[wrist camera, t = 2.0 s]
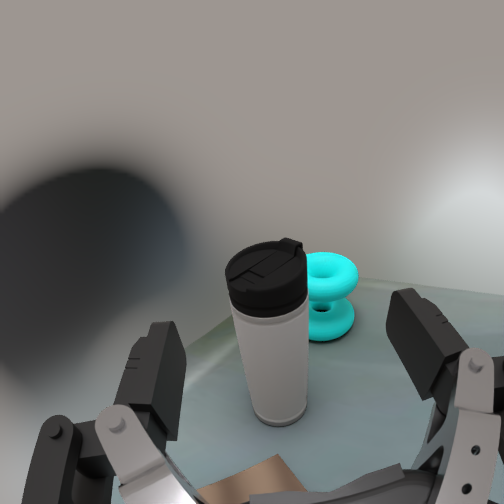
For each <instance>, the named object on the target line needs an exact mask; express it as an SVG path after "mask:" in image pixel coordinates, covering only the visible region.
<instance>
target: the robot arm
mask: <svg viewBox="0 0 504 504" xmlns="http://www.w3.org/2000/svg"><path fill="white" fill-rule="evenodd" d="M442 314H443V313H442V312H441V311H440V310H439V309H438V307H437V306H436V305H435V304H433V303H432V302H430V301H429V300H427V299H425V298H421V297H420V296H419V294H418V293H417V292H416V291H415V290H414V289H413V288H407V289H402V290H397V291H394V292H393V293H392V296H391V300H390V306H389V311H388V315H387V320H386V332H387V336H388V338H389V340H390V342H391V343H392V345H393V347H394V349H395V350H396V352H397V354H398V356H399V358H400V359H401V361H402V363H403V365H404V367H405V368H406V370H407V372H408V374H409V376H410V378H411V380H412V382H413V383H414V385H415V387H416V389H417V391H418V393H419V395H420V397H421V399H422V401H423V400H426V399H429V398H431V397H433V398H434V400H435V403H434V404H433V407H432V412H431V416H430V420H429V424H428V427H427V431H426V434H425V438H424V441H423V445H422V447H421V450H420V452H419V454H418V455H417V457H416V459H415V461H414V463H413V465H412V467H411V469H403V470H402V468H401V465H400V463H398V464H395V465H393V466H390V467H387V468H384V469H381V470H378V471H375V472H371V473H368V474H365V475H364V476H362V477H360V478H358V479H356V480H354V481H352V482H350V483H348V484H346V485H344V486H342V487H340V488H338V489H336V490H334V491H331V492H300V491H282V492H274V493H264V494H251V495H249V500H250V501H248V502H244V503H241V504H498V503H495V502H493V501H491V500H488V497H489V493H490V489H491V485H492V481H493V476H494V471H495V465H496V460H497V453H498V451H499V454H500V456H501V459H502V461H503V464H504V356H500V357H491V356H490V355H489V354H488V353H487V352H485V351H484V350H482V349H479V348H469V347H468V345H467V344H466V343H465V341H464V340H463V339H462V337H461V336H460V335H459V333H458V332H457V331H456V330H455V328H454V327H453V326H452V325H451V323H450V322H448V320H447V318H446V317H445V316H444V315H442ZM128 359H129V360H128V361H127V364H126V367H125V368H126V369H125V370H124V373H123V376H122V379H121V382H120V385H119V388H118V391H117V395H116V398H115V401H114V404H113V405H112V406H109V407H107V408H105V409H104V410H103V411H101V413H100V414H99V415H98V417H97V419H96V420H93V421H88V422H83V423H76V424H73V423H72V422H71V421H70V420H69V419H68V418H67V417H65V416H63V415H55V416H52V417H50V418H49V419H47V420H46V421H45V422H44V423H43V425H42V427H41V430H40V433H39V436H38V439H37V443H36V446H35V449H34V453H33V456H32V460H31V464H30V467H29V471H28V476H27V479H26V484H25V488H24V493H23V498H22V503H21V504H111V496H112V486H113V478H114V476H116V475H117V476H118V478H119V480H120V483H121V485H120V486H119V492H120V494H121V496H122V498H123V500H124V502H125V503H126V504H209V503H208V502H207V501H206V500H205V499H204V498H203V497H202V496H201V495H200V494H199V493H198V492H197V490H196V489H195V488H194V487H193V486H192V485H191V483H190V482H189V481H188V480H187V478H186V477H185V476H184V475H183V473H182V472H181V471H180V470H179V468H178V467H177V466H176V464H175V463H174V462H173V460H172V459H171V458H170V456H169V455H168V453H167V452H166V451H165V449H166V441H177V436H178V427H179V418H180V410H181V402H182V394H183V387H184V380H185V372H186V354H185V350H184V348H183V345H182V342H181V339H180V337H179V334H178V331H177V328H176V326H175V323H174V322H173V321H166V322H153V323H152V324H151V326H150V330H149V333H148V336H147V337H140V338H139V340H138V341H137V342H136V343H135V344H134V346H133V347H132V349H131V352H130V355H129V358H128Z"/></svg>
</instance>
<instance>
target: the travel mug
mask: <svg viewBox="0 0 504 504" xmlns="http://www.w3.org/2000/svg"><path fill="white" fill-rule="evenodd" d="M225 276H226V281H227V286H228V290H229V297H230V304H231V310H232V315H233V320H234V324H235V329H236V334H237V338H238V343H239V348H240V352H241V357H242V361H243V366H244V370H245V375H246V379H247V383H248V388H249V392H250V396H251V401H252V405H253V409H254V412H255V414H256V416H257V417H258V418H259V419H260V420H261V421H262V422H264V423H265V424H268V425H271V426H286V425H289V424H292V423H294V422H296V421H297V420H298V419H300V418H301V417H302V415H303V414H304V412H305V411H306V407H307V387H308V347H309V292H308V276H307V256H306V254H305V252H304V251H303V245H302V243H301V242H298V241H295V240H292V239H289V238H283V239H281V240H280V241H270V242H263V243H259V244H255V245H253V246H250V247H248V248H246V249H243V250H242V251H240V252H239V253H237V254H236V255H235V256H234V257H233V258H232V259H231V260H230V261H229V263H228V265H227V266H226V269H225Z"/></svg>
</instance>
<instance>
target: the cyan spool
mask: <svg viewBox="0 0 504 504" xmlns="http://www.w3.org/2000/svg"><path fill="white" fill-rule="evenodd" d="M306 256H307V276H308V292H309V339H310V340H315V341H327V340H332V339H335V338H338V337H340V336H342V335H343V334H345V333H346V332H347V331H348V330H349V329H350V328H351V326H352V324H353V321H354V309H353V307H352V305H351V303H350V302H349V301H348V300H347V299H346V298H345V297H346V296H347V295H349V294H350V293H351V292H352V291H353V290H354V288H355V287H356V285H357V283H358V277H359V275H358V270H357V268H356V266H355V265H354V264H353V262H352V261H350V260H349V259H348V258H346V257H344V256H342V255H339V254H335V253H329V252H317V253H311V254H307V255H306ZM316 310H327V312H317V311H316Z"/></svg>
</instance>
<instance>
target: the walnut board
mask: <svg viewBox="0 0 504 504" xmlns="http://www.w3.org/2000/svg"><path fill="white" fill-rule="evenodd" d="M282 491H300V492H308V491H307V490H306V489H305V488H304V486H303V485H302V484H301V483H300V482H299V480H298V479H297V478H296V477H295V475H294V474H293V473H292V472H291V470H290V469H289V468H288V466H287V465H286V464H285V463H284V461H283V460H282V459H281V457H280V456H279V455H278V454H276V455H275V456H273V457H271V458H269V459H267V460H265V461H263V462H261V463H259V464H257V465H255V466H253V467H250V468H248V469H246V470H244V471H242V472H239V473H237V474H235V475H233V476H230V477H228V478H226V479H223V480H221V481H218V482H216V483H213V484H211V485H208V486H205V487H203V488H200V489H197V492H198V493H199V494H200V495H201V496H202V497H203V498H204V499H205V500H206V501H207V502H208V503H209V504H241V503H244V502H248V501H250V500H249V495H251V494H264V493H274V492H282Z"/></svg>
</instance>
